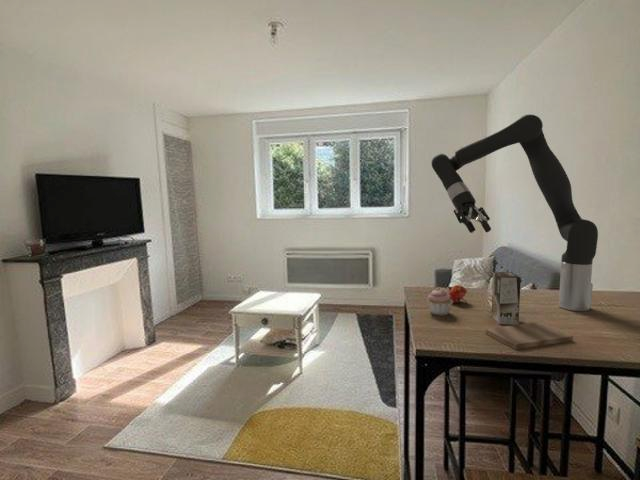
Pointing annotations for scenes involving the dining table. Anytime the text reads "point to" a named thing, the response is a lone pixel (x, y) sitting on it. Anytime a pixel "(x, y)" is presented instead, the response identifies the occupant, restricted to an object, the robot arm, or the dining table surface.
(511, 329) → the walnut board
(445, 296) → the cupcake
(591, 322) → the dining table surface
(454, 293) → the pomegranate
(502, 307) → the coffee box
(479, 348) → the dining table surface
